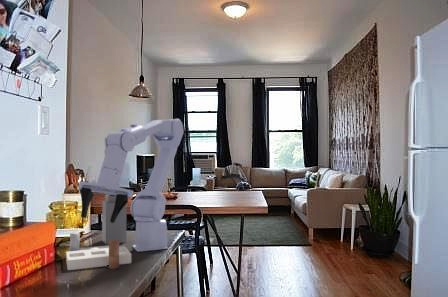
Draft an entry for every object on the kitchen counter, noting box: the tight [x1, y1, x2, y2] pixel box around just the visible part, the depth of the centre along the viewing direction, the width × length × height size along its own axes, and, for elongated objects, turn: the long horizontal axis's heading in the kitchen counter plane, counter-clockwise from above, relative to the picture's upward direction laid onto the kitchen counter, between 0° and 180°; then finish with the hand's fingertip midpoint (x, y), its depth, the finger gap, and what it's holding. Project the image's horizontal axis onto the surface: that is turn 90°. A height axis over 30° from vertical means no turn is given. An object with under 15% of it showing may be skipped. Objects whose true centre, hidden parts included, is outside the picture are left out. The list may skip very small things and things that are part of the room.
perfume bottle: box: [101, 194, 127, 245], centre depth 132 cm, size 7×7×18 cm
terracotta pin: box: [108, 240, 120, 270], centre depth 100 cm, size 3×3×7 cm
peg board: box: [65, 245, 132, 271], centre depth 105 cm, size 16×10×2 cm, turn 115°
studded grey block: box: [68, 232, 109, 251], centre depth 114 cm, size 14×6×6 cm, turn 115°
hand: (97, 219), depth 101 cm, fingers open, 7 cm apart
